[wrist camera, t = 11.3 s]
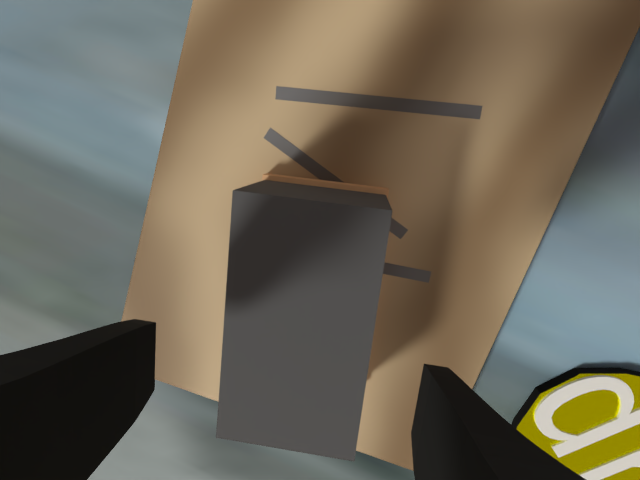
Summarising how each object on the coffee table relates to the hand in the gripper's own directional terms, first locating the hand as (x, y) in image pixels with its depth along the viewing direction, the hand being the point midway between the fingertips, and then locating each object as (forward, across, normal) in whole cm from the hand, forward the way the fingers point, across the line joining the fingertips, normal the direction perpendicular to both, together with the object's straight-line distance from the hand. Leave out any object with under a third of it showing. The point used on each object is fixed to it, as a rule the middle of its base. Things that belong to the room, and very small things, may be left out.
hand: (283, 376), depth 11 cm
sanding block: (+8, 0, 0) cm, 8 cm away
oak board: (+9, -1, -5) cm, 10 cm away
